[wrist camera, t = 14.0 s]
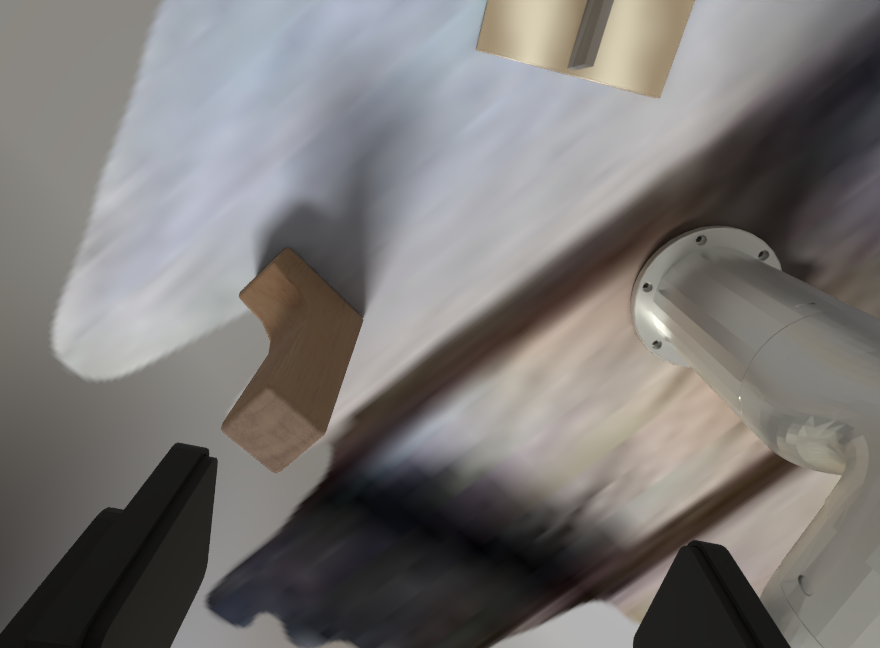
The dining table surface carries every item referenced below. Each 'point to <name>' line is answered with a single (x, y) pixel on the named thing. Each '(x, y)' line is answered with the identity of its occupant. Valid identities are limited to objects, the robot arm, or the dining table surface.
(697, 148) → the dining table surface
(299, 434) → the wooden block
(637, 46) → the hinge base
